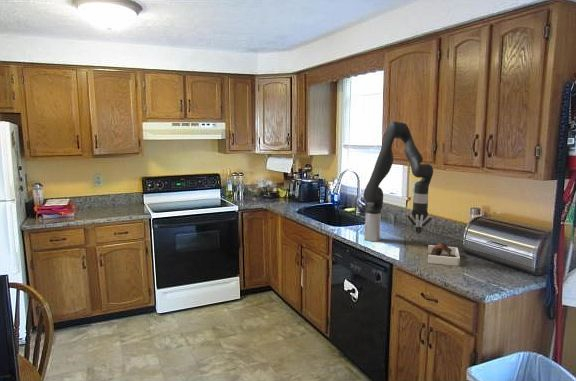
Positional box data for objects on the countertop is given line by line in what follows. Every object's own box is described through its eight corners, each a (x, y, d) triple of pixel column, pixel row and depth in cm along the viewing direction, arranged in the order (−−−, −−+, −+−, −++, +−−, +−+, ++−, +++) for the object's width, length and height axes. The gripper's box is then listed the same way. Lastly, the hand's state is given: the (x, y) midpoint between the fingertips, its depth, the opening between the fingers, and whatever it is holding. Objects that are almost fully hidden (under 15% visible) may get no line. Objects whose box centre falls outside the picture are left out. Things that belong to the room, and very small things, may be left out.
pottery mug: (431, 253, 223) (440, 241, 222) (446, 264, 218) (455, 251, 217) (426, 253, 213) (434, 240, 212) (441, 264, 208) (450, 251, 207)
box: (427, 262, 206) (428, 255, 205) (428, 252, 224) (428, 245, 224) (459, 266, 201) (459, 258, 200) (457, 254, 219) (457, 247, 219)
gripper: (433, 201, 213) (431, 232, 216) (408, 199, 218) (406, 230, 220) (433, 203, 206) (431, 236, 209) (407, 201, 211) (405, 233, 213)
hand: (418, 233), depth 215 cm, fingers closed
